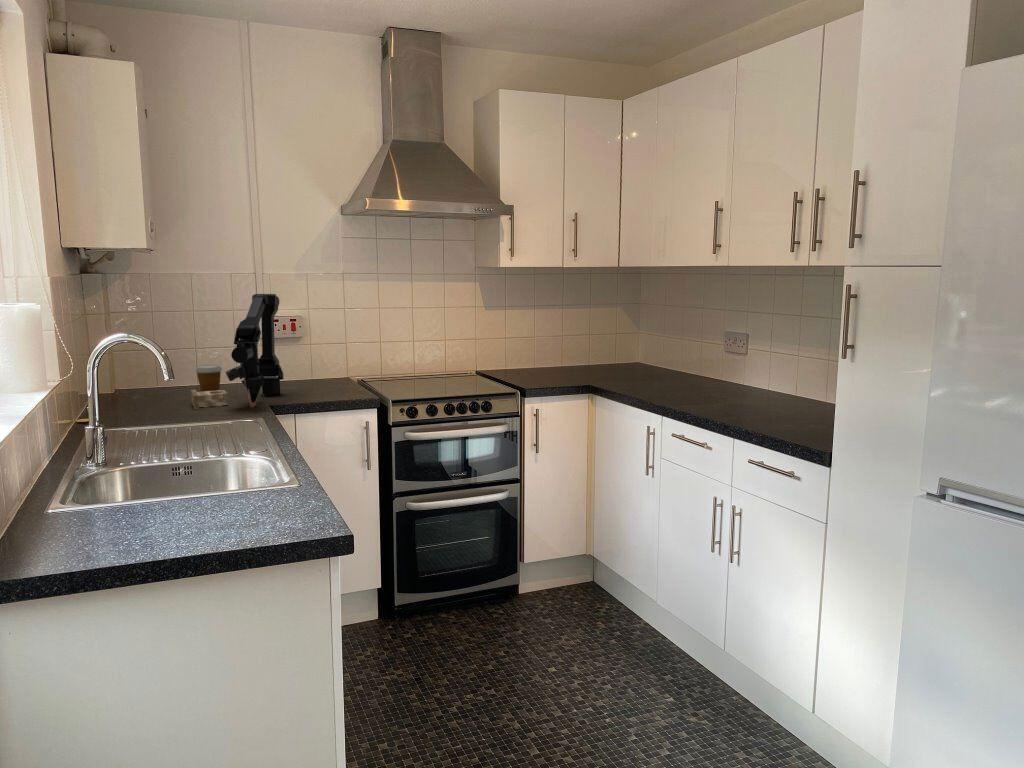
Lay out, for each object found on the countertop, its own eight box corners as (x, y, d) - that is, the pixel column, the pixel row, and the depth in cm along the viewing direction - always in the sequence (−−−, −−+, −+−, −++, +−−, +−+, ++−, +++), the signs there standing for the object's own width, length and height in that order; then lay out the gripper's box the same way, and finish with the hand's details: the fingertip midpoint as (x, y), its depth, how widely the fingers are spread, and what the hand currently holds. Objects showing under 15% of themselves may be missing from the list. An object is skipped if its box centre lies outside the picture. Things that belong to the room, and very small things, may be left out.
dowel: (256, 405, 279) (254, 384, 277) (257, 406, 277) (255, 385, 275) (248, 406, 278) (247, 384, 276) (249, 407, 275) (248, 385, 274)
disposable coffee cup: (206, 399, 289) (203, 368, 287) (192, 396, 295) (190, 366, 293) (228, 396, 297) (226, 365, 294) (214, 393, 302) (212, 363, 300)
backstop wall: (196, 402, 284) (195, 389, 283) (199, 409, 272) (198, 395, 271) (191, 403, 283) (190, 389, 282) (194, 409, 272) (193, 396, 271)
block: (225, 401, 286) (224, 389, 285) (227, 405, 279) (227, 393, 278) (196, 403, 282) (195, 392, 281) (198, 407, 275) (197, 395, 274)
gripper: (223, 357, 279) (226, 398, 282) (229, 364, 262) (232, 408, 265) (255, 355, 284) (257, 395, 286) (262, 361, 267) (265, 405, 270)
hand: (252, 401), depth 277 cm, fingers open, 4 cm apart
